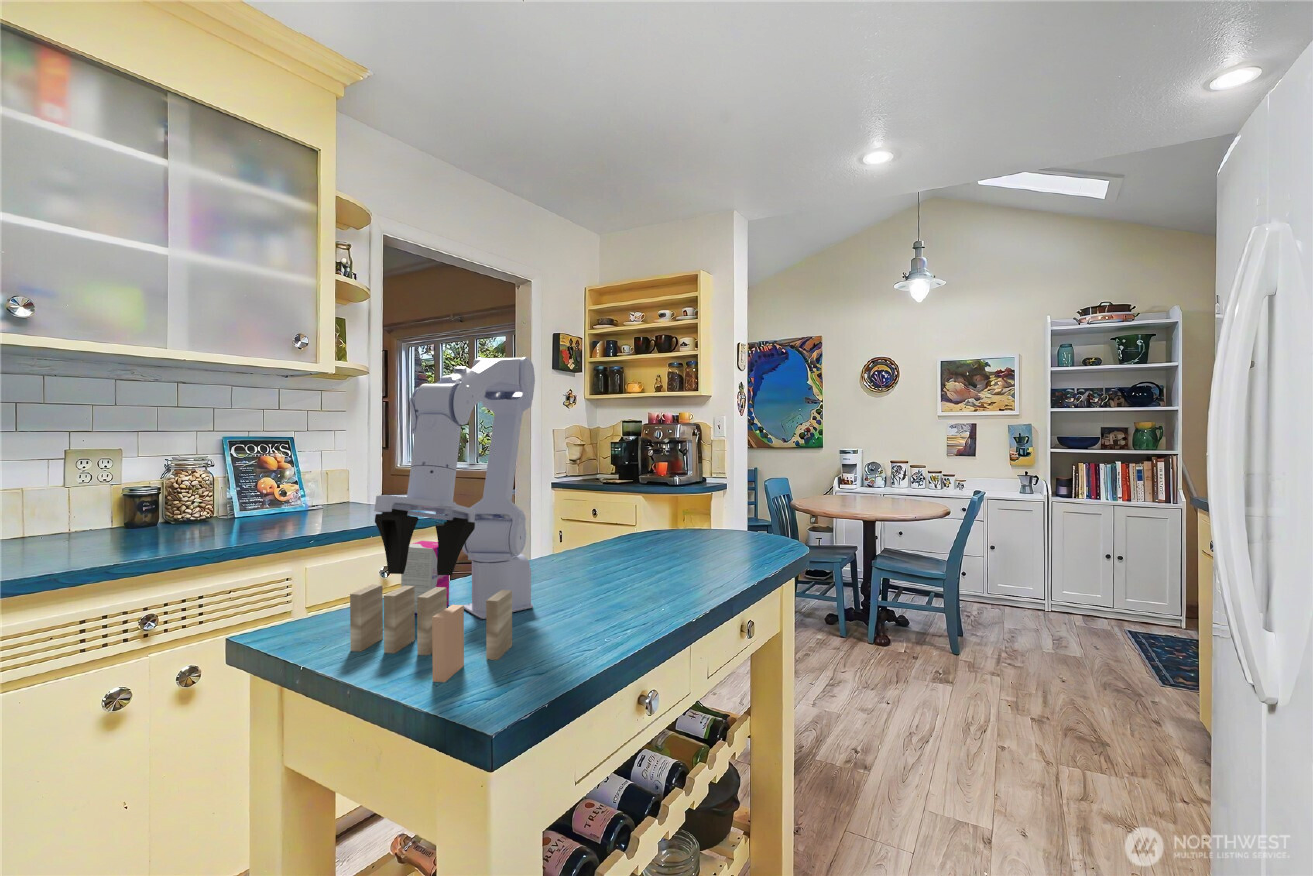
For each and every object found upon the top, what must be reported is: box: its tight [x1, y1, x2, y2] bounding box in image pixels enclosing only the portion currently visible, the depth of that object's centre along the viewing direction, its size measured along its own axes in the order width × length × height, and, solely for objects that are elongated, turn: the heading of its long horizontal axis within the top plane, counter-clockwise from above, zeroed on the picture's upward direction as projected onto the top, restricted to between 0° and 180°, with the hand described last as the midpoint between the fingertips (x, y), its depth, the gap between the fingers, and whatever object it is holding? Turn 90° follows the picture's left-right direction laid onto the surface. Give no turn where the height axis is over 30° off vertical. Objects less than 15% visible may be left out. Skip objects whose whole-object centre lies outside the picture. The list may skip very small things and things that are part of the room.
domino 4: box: [431, 604, 465, 683], centre depth 74 cm, size 2×5×8 cm, turn 172°
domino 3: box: [416, 587, 446, 656], centre depth 82 cm, size 2×5×8 cm, turn 172°
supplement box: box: [400, 540, 450, 617], centre depth 99 cm, size 6×6×12 cm
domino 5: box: [485, 590, 513, 661], centre depth 81 cm, size 2×5×8 cm, turn 172°
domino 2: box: [383, 586, 416, 654], centre depth 83 cm, size 2×5×8 cm, turn 172°
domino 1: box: [349, 584, 384, 653], centre depth 83 cm, size 2×5×8 cm, turn 172°
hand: (421, 574), depth 74 cm, fingers open, 7 cm apart
